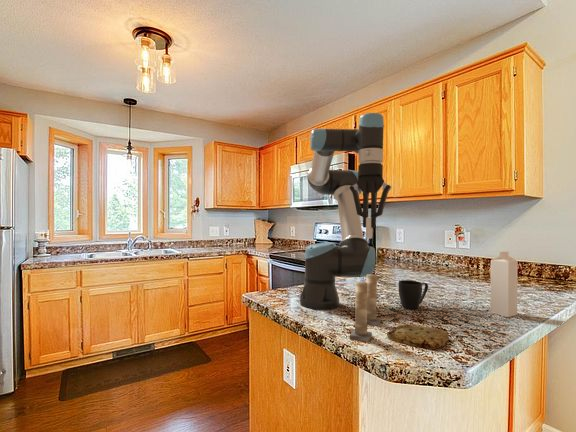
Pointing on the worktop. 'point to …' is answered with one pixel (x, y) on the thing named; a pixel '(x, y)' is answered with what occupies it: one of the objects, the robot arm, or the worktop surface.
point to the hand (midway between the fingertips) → (369, 238)
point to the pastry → (419, 336)
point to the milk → (504, 285)
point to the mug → (411, 293)
